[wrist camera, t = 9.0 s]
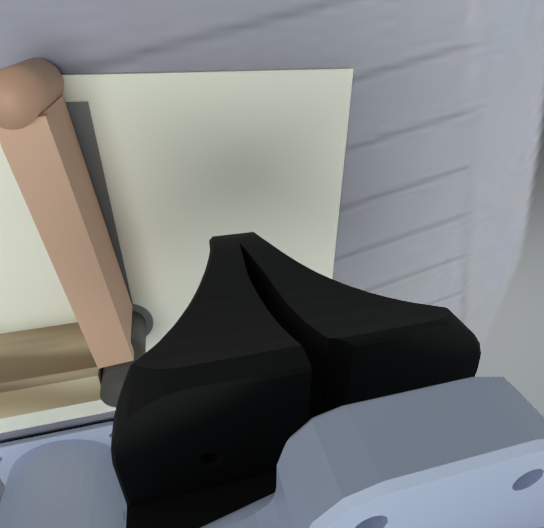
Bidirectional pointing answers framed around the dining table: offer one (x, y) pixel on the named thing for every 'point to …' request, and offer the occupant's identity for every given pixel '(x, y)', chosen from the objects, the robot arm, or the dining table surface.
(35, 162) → the tan wooden bar
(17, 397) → the hammer
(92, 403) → the card
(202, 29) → the dining table surface
